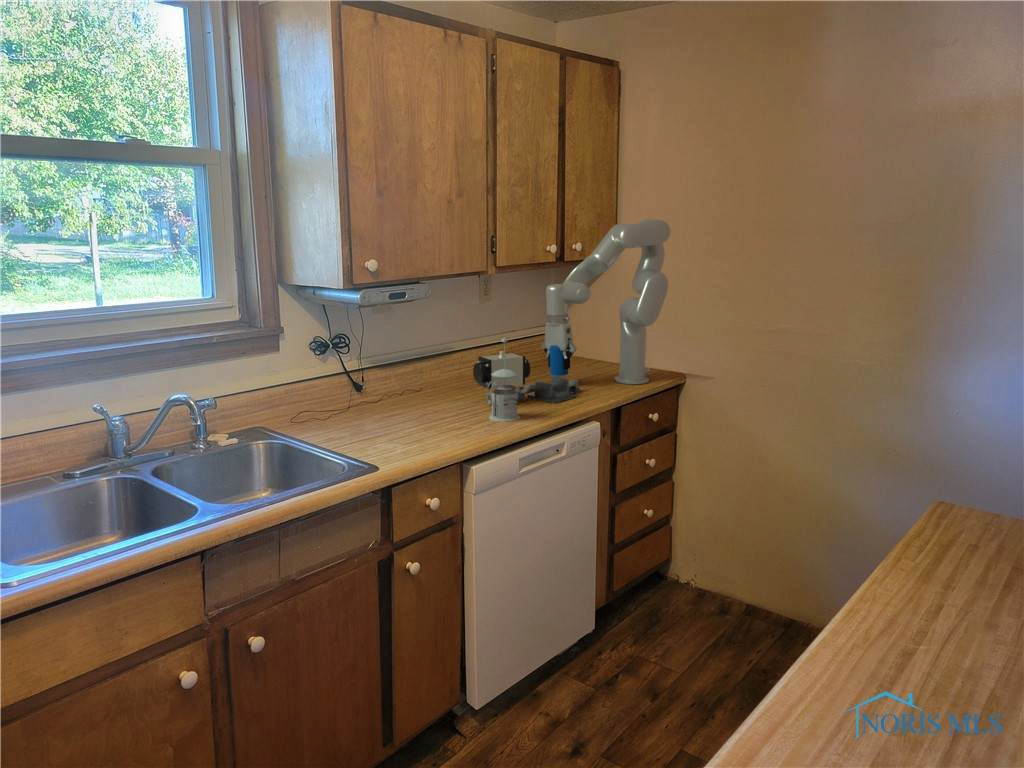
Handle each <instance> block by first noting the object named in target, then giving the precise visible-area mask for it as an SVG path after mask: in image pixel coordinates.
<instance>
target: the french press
mask: <svg viewBox="0 0 1024 768" xmlns="http://www.w3.org/2000/svg"><path fill="white" fill-rule="evenodd" d="M501 342H502V343H503V348H504V349H503V351H504V369H501V370H497V371H495V372H494V373H492V374H491V375H492V377H495V378H504V385H496V386H494V387H493V385H495V384H494V381H493V380H492V381H493V385H492V387H493V389H492V387H491V389H490V392H489V393H490V398H491V392H492V398H491V401H492V404H491V414H490V416H489V417H488V419H489V420H491V421H495V422H498V421H499V422H500V423H501V422H502V423H507V422H506V421H511V422H514V421H513V420H516V421H518V420H517V419H519V418H520V419H521V417H520V415H519V414H518V405H517V404H518V400H517V391H516V389H517V386H513V385H505V378H513V377H516V376H517V375H518V374H517V373H516V372H514V371H512V370H509V369H505V354H506V343H508V338H507V337H503V338H502V339H501ZM492 381H491V382H492ZM491 382H490V383H491ZM496 382H497V381H496ZM496 382H495V383H496ZM490 383H489V385H490ZM497 384H498V382H497ZM489 385H488V387H489ZM488 387H487V388H486V392H488V390H489V389H488ZM492 390H494V391H492ZM495 394H496V396H495ZM495 398H496V400H495ZM487 399H488V394H486V400H487ZM504 400H508V401H505V402H504ZM488 401H489V399H488V400H487V402H488ZM489 402H490V401H489ZM495 402H496V404H495ZM490 403H491V402H490ZM520 419H519V420H520Z"/></svg>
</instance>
